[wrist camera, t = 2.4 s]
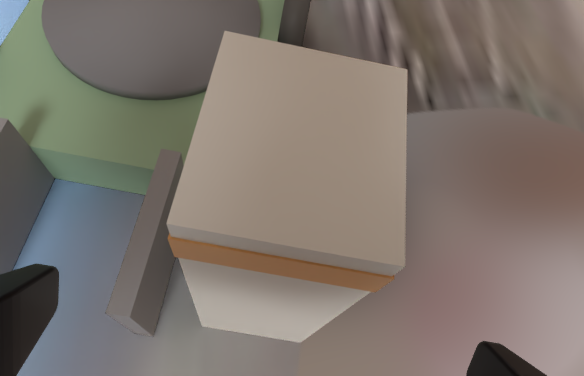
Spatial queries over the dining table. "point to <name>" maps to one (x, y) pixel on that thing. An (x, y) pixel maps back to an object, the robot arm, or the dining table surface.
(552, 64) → the dining table surface
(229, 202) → the beige box
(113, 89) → the green and grey base
